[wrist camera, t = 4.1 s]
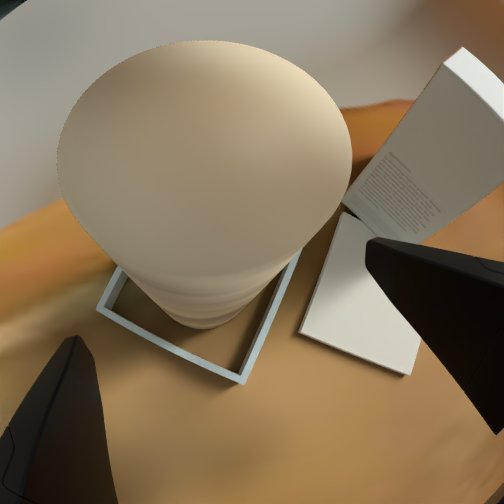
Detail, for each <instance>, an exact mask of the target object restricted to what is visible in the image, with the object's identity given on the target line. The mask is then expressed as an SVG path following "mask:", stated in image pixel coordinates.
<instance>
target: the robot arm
mask: <svg viewBox="0 0 504 504" xmlns="http://www.w3.org/2000/svg"><path fill="white" fill-rule="evenodd" d="M365 266H366V269H367V270H368V272H369V273H370V274H371V276H372V277H373V278H374V280H375V281H376V283H377V284H378V285H379V287H380V288H381V289H382V291H383V292H384V294H385V295H386V296H387V298H388V299H389V300H390V302H391V303H392V304H393V305H394V307H395V308H396V309H397V310H398V311H399V312H400V313H401V315H402V316H403V317H404V318H405V319H406V320H407V322H408V323H409V324H410V325H411V326H412V327H413V329H414V330H415V331H416V332H417V333H418V335H419V336H420V337H421V338H422V339H423V341H424V342H425V343H426V344H427V345H428V347H429V348H430V349H431V350H432V352H433V353H434V354H435V355H436V356H437V358H438V359H439V360H440V361H441V363H442V364H443V365H444V366H445V368H446V369H447V370H448V372H449V373H450V374H451V375H452V377H453V378H454V379H455V381H456V382H457V383H458V384H459V386H460V387H461V388H462V390H463V391H464V393H465V394H466V395H467V397H468V398H469V399H470V401H471V402H472V403H473V405H474V406H475V408H476V409H477V410H478V412H479V413H480V414H481V416H482V417H483V419H484V420H485V421H486V423H487V424H488V426H489V427H490V429H491V430H492V431H493V433H494V434H495V435H497V434H498V433H499V432H500V431H501V430H502V429H503V428H504V262H499V261H494V260H489V259H485V258H480V257H476V256H475V257H473V256H471V255H466V254H462V253H457V252H452V251H447V250H443V249H438V248H433V247H428V246H423V245H418V244H413V243H408V242H403V241H398V240H392V239H387V238H382V237H375V238H373V239H370V240H368V241H367V243H366V249H365ZM0 504H118V501H117V496H116V492H115V487H114V482H113V477H112V472H111V466H110V460H109V454H108V447H107V440H106V432H105V424H104V415H103V407H102V401H101V396H100V391H99V385H98V380H97V374H96V367H95V361H94V358H93V356H92V354H91V352H90V351H89V349H88V348H87V346H86V344H85V343H84V341H83V340H82V338H81V337H80V336H79V335H73V336H70V337H67V338H65V339H64V341H63V342H62V343H61V345H60V346H59V348H58V349H57V350H56V352H55V353H54V355H53V356H52V358H51V359H50V360H49V362H48V363H47V365H46V366H45V368H44V369H43V371H42V372H41V373H40V375H39V376H38V378H37V379H36V381H35V382H34V384H33V386H32V387H31V389H30V390H29V392H28V393H27V395H26V396H25V398H24V400H23V401H22V403H21V404H20V406H19V408H18V409H17V411H16V412H15V414H14V416H13V417H12V419H11V421H10V422H9V426H7V427H6V429H5V431H4V433H3V435H2V436H1V438H0ZM484 504H504V483H503V484H502V485H501V486H500V487H499V488H498V490H497V491H496V492H495V493H494V494H493V495H492V496H491V497H490V498H489V499H488V500H487V501H486V502H485V503H484Z"/></svg>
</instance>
